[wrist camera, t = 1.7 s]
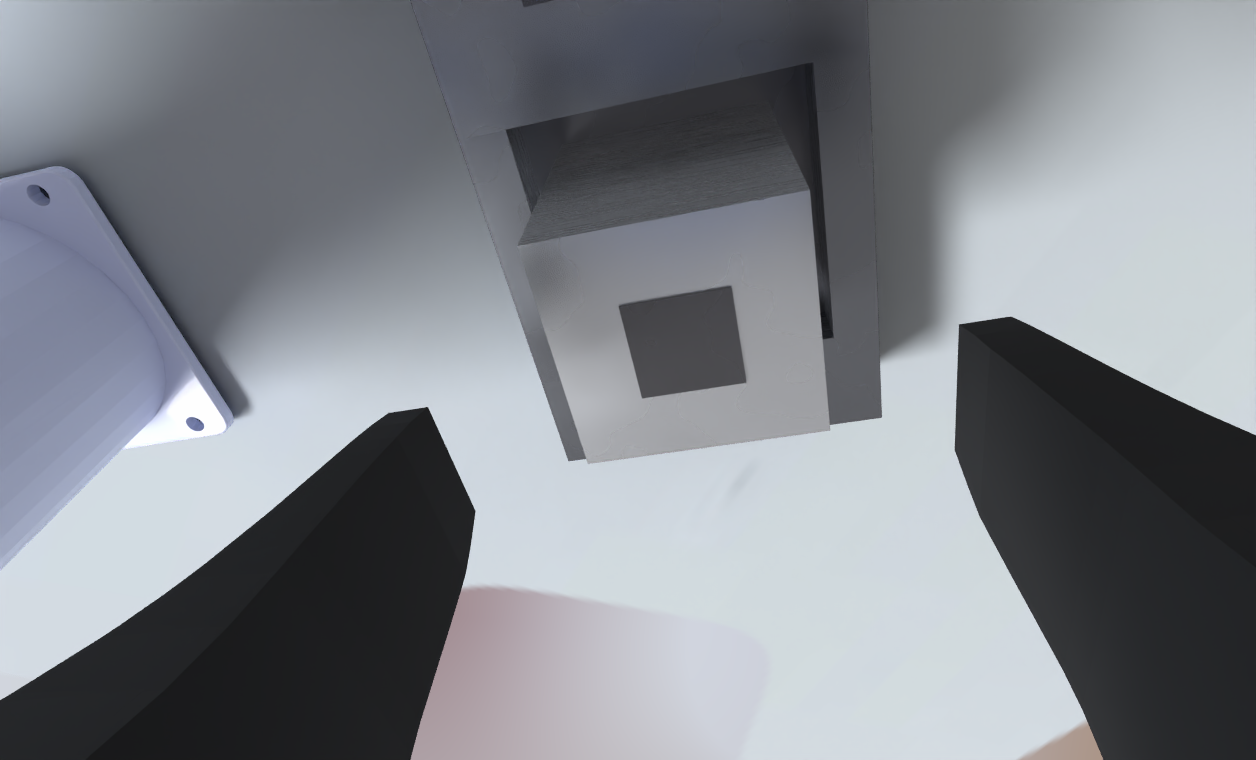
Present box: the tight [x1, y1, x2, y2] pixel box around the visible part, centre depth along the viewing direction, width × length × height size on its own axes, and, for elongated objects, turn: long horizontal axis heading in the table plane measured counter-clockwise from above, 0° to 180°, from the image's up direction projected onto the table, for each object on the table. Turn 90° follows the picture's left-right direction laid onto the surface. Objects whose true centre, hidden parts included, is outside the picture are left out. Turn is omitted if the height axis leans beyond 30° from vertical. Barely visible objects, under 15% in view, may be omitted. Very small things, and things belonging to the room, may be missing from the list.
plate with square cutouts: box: [410, 0, 882, 461], centre depth 15 cm, size 8×15×2 cm, turn 13°
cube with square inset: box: [517, 101, 830, 464], centre depth 14 cm, size 4×4×6 cm
